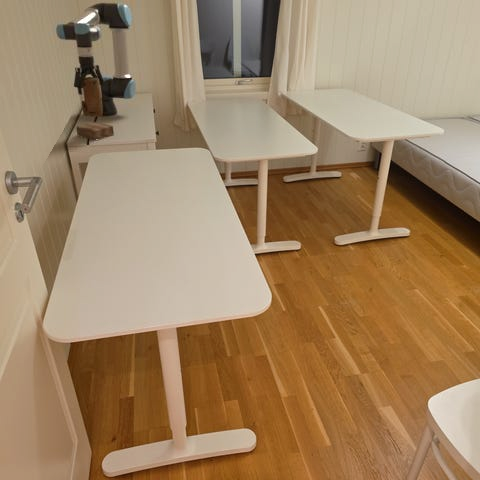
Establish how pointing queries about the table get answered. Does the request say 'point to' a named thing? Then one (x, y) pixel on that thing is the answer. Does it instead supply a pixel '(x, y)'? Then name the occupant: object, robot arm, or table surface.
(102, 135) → the walnut base
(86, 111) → the block
